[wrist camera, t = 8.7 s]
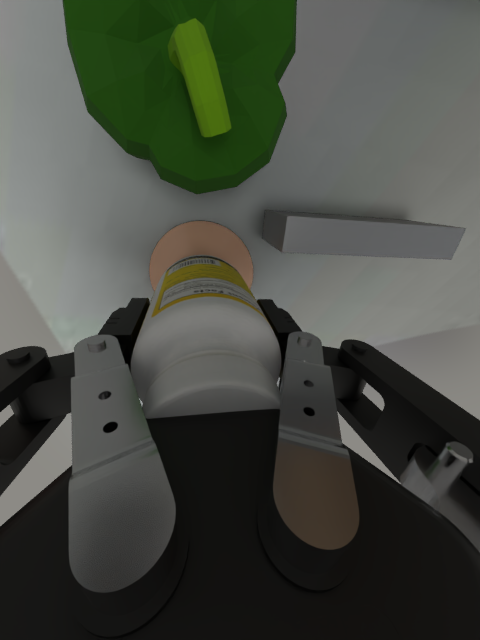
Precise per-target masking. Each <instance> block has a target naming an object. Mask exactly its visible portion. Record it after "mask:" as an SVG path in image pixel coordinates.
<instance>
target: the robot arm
mask: <svg viewBox="0 0 480 640" xmlns="http://www.w3.org/2000/svg"><path fill="white" fill-rule="evenodd" d="M257 303H258V305H259V307H260V308H261V310H262V312H263V314H264V315H265V317H266V319H267V320H268V322H269V324H270V325H271V327H272V329H273V331H274V333H275V336H276V338H277V340H278V343H279V347H280V352H281V370H280V375H279V377H280V381H279V386H278V389H279V392H280V395H281V399H280V407H279V409H263V410H248V411H234V412H221V413H209V414H198V415H186V416H174V417H163V418H153V419H147V418H145V415H144V412H143V409H142V406H141V403H140V400H139V397H138V394H137V391H136V388H135V385H134V382H133V379H132V376H131V371H130V369H131V358H132V353H133V349H134V346H135V343H136V340H137V337H138V335H139V332H140V329H141V327H142V324H143V321H144V319H145V316H146V313H147V311H148V308H149V305H150V301H149V299H148V298H132V299H131V301H130V302H129V304H128V306H127V307H126V308H119V309H118V310H116V311H114V312H113V313H112V314H111V316H110V317H109V319H108V320H107V321H106V324H104V326H103V327H102V329H101V330H100V332H99V333H98V335H95V336H91V337H88V338H85V339H83V340H81V341H80V342H78V343H77V344H76V345H75V347H74V352H73V353H69V354H64V355H59V356H53V357H48V355H47V353H46V350H45V349H44V348H42V347H37V346H28V347H22V348H18V349H14V350H11V351H8V352H5V353H3V354H1V355H0V412H1V411H2V410H3V409H4V408H6V407H7V406H8V405H9V404H10V406H11V408H12V410H13V412H14V414H13V415H12V416H11V417H10V418H9V419H8V420H7V421H6V422H5V423H4V424H3V425H2V426H1V427H0V496H1V494H2V493H3V492H4V491H5V490H6V488H7V487H8V486H9V485H10V484H11V482H12V481H13V480H14V479H15V477H16V476H17V475H18V474H19V473H20V472H21V470H22V469H23V468H24V467H25V466H26V464H27V463H28V462H29V461H30V459H31V458H32V457H33V456H34V455H35V453H36V452H37V451H38V450H39V448H40V447H41V446H42V445H43V444H44V443H45V441H46V440H47V439H48V438H49V437H50V435H51V434H52V433H53V432H54V430H55V429H56V428H57V427H58V426H59V424H60V423H61V422H62V421H63V419H64V418H65V417H66V414H68V413H71V417H72V466H71V467H69V468H68V469H67V470H66V471H65V472H63V473H62V474H61V475H60V476H59V477H58V478H56V479H55V480H54V481H53V482H52V483H51V484H49V485H48V486H47V487H46V488H45V489H44V490H42V491H41V492H40V493H39V494H38V495H37V496H36V497H34V498H33V499H32V500H31V501H30V502H28V503H27V504H26V505H25V506H24V507H22V508H21V509H20V510H19V511H18V512H17V513H15V514H14V515H13V516H12V517H11V518H10V519H8V520H7V521H6V522H5V523H4V524H3V525H2V526H0V640H480V420H478V419H477V418H475V417H474V416H473V415H471V414H469V413H468V412H467V411H465V410H464V409H462V408H461V407H459V406H458V405H457V404H455V403H454V402H452V401H451V400H449V399H448V398H446V397H445V396H443V395H442V394H440V393H439V392H438V391H436V390H435V389H433V388H432V387H430V386H429V385H427V384H426V383H424V382H423V381H422V380H420V379H419V378H417V377H415V376H414V375H413V374H411V373H410V372H409V371H407V370H405V369H404V368H403V367H401V366H399V365H398V364H397V363H395V362H394V361H392V360H391V359H389V358H388V357H387V356H385V355H384V354H382V353H381V352H379V351H378V350H376V349H375V348H374V347H372V346H371V345H369V344H367V343H365V342H362V341H358V340H350V339H349V340H344V341H343V342H342V343H341V346H340V349H337V348H331V347H325V346H322V342H321V340H320V339H319V338H318V337H317V336H315V335H313V334H310V333H307V332H302V330H301V329H300V328H299V326H298V325H297V324H296V322H295V321H294V320H293V318H292V317H291V316H290V314H289V313H288V312H286V311H285V310H283V309H282V308H277V306H276V305H275V303H274V302H273V300H271V299H258V300H257ZM366 382H367V383H368V384H369V385H370V386H371V387H373V388H374V389H375V390H376V391H377V392H379V393H380V395H381V396H382V397H383V399H384V403H385V406H384V409H383V411H381V410H380V409H379V408H378V407H377V406H376V405H375V404H374V403H373V402H372V401H370V400H369V399H368V398H367V397H366V396H365V395H364V394H363V393H362V392H363V389H364V387H365V385H366ZM337 411H338V412H339V414H340V415H341V416H342V417H343V418H344V419H345V420H346V421H347V423H348V424H349V425H350V426H351V427H352V428H353V429H354V430H355V432H356V433H357V434H358V435H359V436H360V437H361V439H362V440H363V441H364V442H365V443H366V444H367V445H368V446H369V448H370V449H371V450H372V451H373V452H374V453H375V454H376V456H378V458H379V459H380V460H381V461H382V462H383V464H384V465H385V466H386V467H387V468H388V469H389V470H390V471H391V473H392V474H393V475H394V476H395V477H396V478H397V479H398V480H399V482H400V483H401V484H399V483H398V482H396V481H395V480H394V479H392V478H391V477H389V476H388V475H386V474H385V473H384V472H382V471H381V470H379V469H378V468H377V467H375V466H374V465H372V464H371V463H369V462H368V461H367V460H365V459H364V458H362V457H361V456H360V455H358V454H357V453H355V452H354V451H353V450H351V449H350V448H348V447H347V446H345V445H344V444H343V443H342V440H341V433H340V427H339V420H338V413H337Z"/></svg>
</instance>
